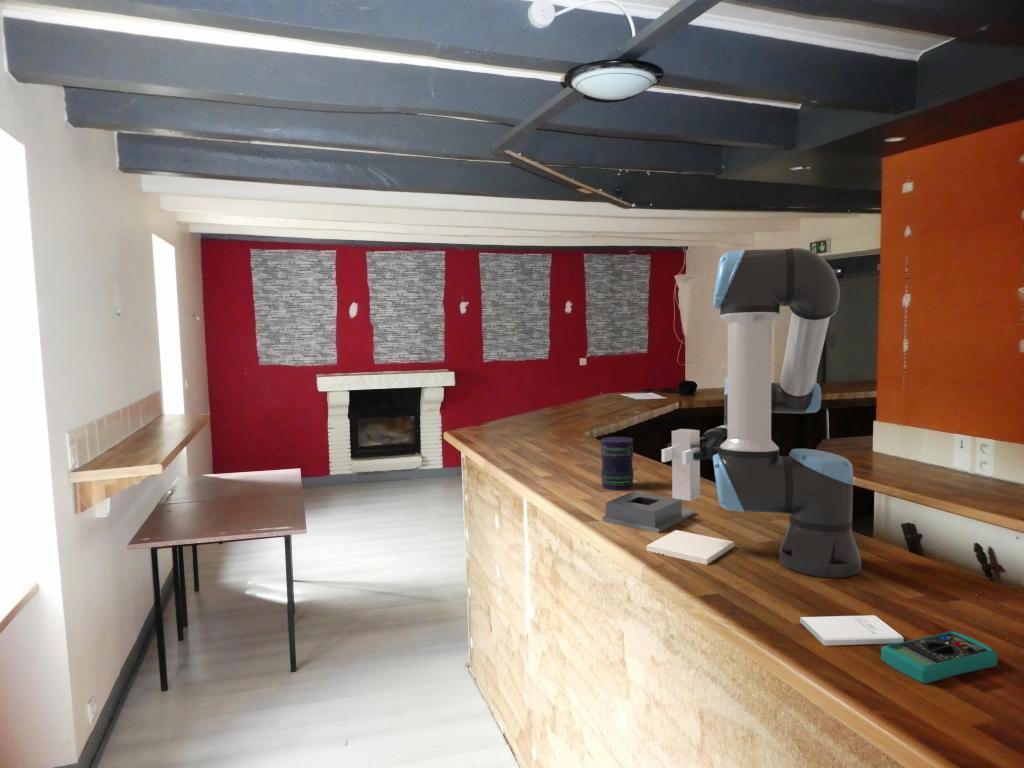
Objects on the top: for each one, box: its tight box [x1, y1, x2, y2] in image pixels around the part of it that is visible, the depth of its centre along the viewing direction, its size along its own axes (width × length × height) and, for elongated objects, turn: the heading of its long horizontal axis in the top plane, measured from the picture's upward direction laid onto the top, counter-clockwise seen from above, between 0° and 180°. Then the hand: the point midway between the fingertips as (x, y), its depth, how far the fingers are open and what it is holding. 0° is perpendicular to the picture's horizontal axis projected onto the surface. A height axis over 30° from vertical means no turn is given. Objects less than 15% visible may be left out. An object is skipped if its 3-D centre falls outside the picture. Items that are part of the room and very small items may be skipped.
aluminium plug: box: [671, 428, 701, 502], centre depth 146 cm, size 4×4×15 cm
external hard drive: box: [799, 614, 905, 647], centre depth 105 cm, size 2×8×12 cm
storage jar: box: [600, 436, 634, 492], centre depth 202 cm, size 10×10×15 cm
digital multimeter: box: [880, 631, 999, 684], centre depth 95 cm, size 7×15×3 cm, turn 108°
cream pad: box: [646, 529, 735, 566], centre depth 146 cm, size 14×14×1 cm
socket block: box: [601, 491, 697, 534], centre depth 170 cm, size 16×20×5 cm
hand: (673, 457), depth 142 cm, fingers closed on aluminium plug, 4 cm apart
